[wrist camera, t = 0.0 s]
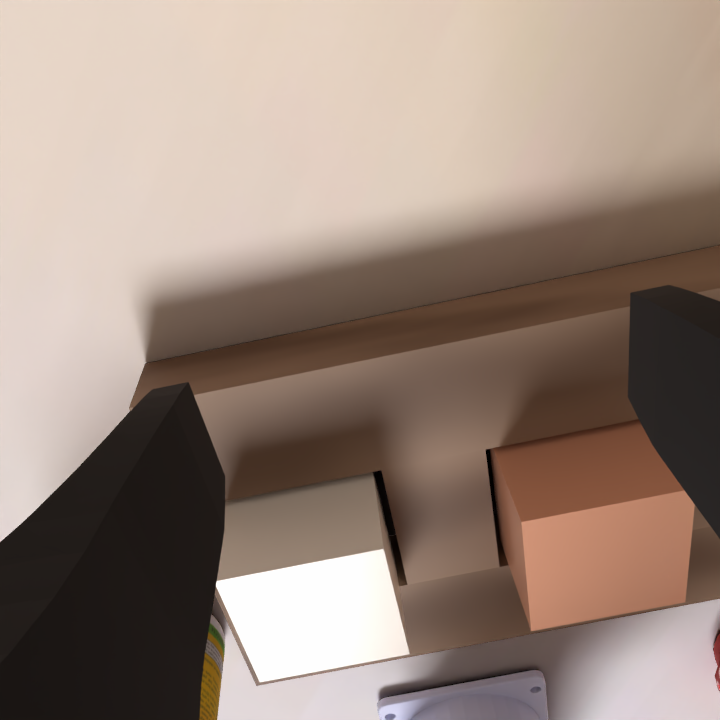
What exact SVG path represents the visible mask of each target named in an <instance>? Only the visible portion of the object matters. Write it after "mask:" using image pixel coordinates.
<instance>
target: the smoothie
mask: <svg viewBox="0 0 720 720" xmlns="http://www.w3.org/2000/svg"><path fill="white" fill-rule="evenodd" d="M713 651H714V655H715V660H716V662H717V665H718V667H717V671H716V674H715V679H716V683H717V687H718V689H719V691H720V634H719V635H718V636H717V638H716V642H715V645H714V648H713Z"/></svg>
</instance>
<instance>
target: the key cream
mask: <svg viewBox="0 0 720 720" xmlns="http://www.w3.org/2000/svg"><path fill="white" fill-rule="evenodd" d="M216 587H217V589H218V591H219V594H220V596H221V598H222V600H223V602H224V605H225V607H226V609H227V611H228V613H229V616H230V618H231V620H232V622H233V624H234V627H235V629H236V631H237V633H238V635H239V638H240V640H241V642H242V644H243V647H244V649H245V651H246V653H247V655H248V658H249V660H250V662H251V664H252V666H253V669H254V671H255V673H256V675H257V677H258V680H259V682H265V681H270V680H275V679H281V678H286V677H291V676H297V675H302V674H307V673H313V672H318V671H323V670H329V669H334V668H339V667H345V666H350V665H355V664H360V663H366V662H371V661H376V660H382V659H387V658H392V657H398V656H403V655H408V654H410V653H409V647H408V640H407V634H406V628H405V621H404V615H403V608H402V602H401V596H400V589H399V583H398V576H397V570H396V563H395V558H394V554H393V549H392V545H391V541H390V537H389V533H388V528H387V524H386V520H385V516H384V512H383V507H382V503H381V499H380V495H379V490H378V486H377V482H376V478H375V474H374V472H370V473H365V474H360V475H355V476H350V477H344V478H339V479H334V480H329V481H324V482H319V483H314V484H309V485H304V486H299V487H294V488H289V489H284V490H279V491H274V492H269V493H264V494H259V495H254V496H248V497H243V498H238V499H233V500H228V501H225V529H224V536H223V544H222V550H221V557H220V563H219V570H218V576H217V582H216Z"/></svg>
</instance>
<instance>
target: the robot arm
mask: <svg viewBox="0 0 720 720" xmlns="http://www.w3.org/2000/svg"><path fill="white" fill-rule="evenodd" d="M628 399H629V401H630V403H631V405H632V407H633V409H634V411H635V413H636V415H637V417H638V419H639V421H640V423H641V425H642V427H643V428H644V430H645V432H646V434H647V436H648V438H649V439H650V441H651V443H652V445H653V447H654V448H655V450H656V451H657V453H658V454H659V455H660V457H661V458H662V460H663V461H664V463H665V464H666V465H667V467H668V468H669V470H670V471H671V472H672V474H673V475H674V477H675V478H676V479H677V481H678V482H679V484H680V485H681V486H682V488H683V489H684V490H685V492H686V493H687V495H688V496H689V497H690V499H691V500H692V501H693V503H694V504H695V506H696V507H697V508H698V510H699V511H700V512H701V514H702V515H703V517H704V518H705V519H706V521H707V522H708V523H709V525H710V526H711V528H712V529H713V530H714V532H715V533H716V534H717V536H718V537H719V539H720V301H718V300H715V299H712V298H709V297H707V296H704V295H701V294H698V293H695V292H692V291H689V290H686V289H683V288H679V287H675V286H672V285H666V286H661V287H656V288H651V289H646V290H641V291H636V292H631V293H630V328H629V366H628ZM224 529H225V474H224V472H223V469H222V466H221V464H220V461H219V459H218V456H217V454H216V451H215V448H214V446H213V443H212V441H211V438H210V436H209V433H208V430H207V428H206V425H205V423H204V420H203V418H202V415H201V412H200V410H199V407H198V405H197V402H196V400H195V397H194V394H193V392H192V389H191V387H190V384H189V382H185V383H181V384H176V385H171V386H166V387H161V388H156V389H152V390H151V391H150V392H149V393H148V394H147V395H145V396H144V397H143V398H142V399H141V400H140V401H139V403H138V404H137V405H136V406H135V407H134V408H133V409H132V410H131V411H130V412H129V413H128V414H127V415H126V417H125V418H124V419H123V420H122V421H121V422H120V423H119V424H118V425H117V426H116V428H115V429H114V430H113V431H112V432H111V433H110V434H109V435H108V436H107V437H106V438H105V440H104V441H103V442H102V443H101V444H100V445H99V446H98V447H97V448H96V449H95V450H94V451H93V453H92V454H91V455H90V456H89V457H88V458H87V459H86V460H85V461H84V462H83V463H82V464H81V466H80V467H79V468H78V469H77V470H76V471H75V472H74V473H73V474H72V475H71V476H70V477H69V478H68V479H67V480H66V481H65V482H64V483H63V484H62V485H61V486H60V487H59V488H58V489H57V490H56V491H55V492H54V493H53V494H52V495H51V496H50V497H48V498H47V499H46V500H45V501H44V502H43V503H42V504H41V505H40V506H39V507H38V508H37V509H36V510H35V511H34V512H33V513H32V514H31V515H30V516H29V517H28V518H27V519H26V520H25V521H24V522H23V523H22V524H20V525H19V526H18V527H17V528H16V529H15V530H14V531H13V532H11V533H10V534H9V535H8V536H7V537H6V538H5V539H3V540H2V541H1V542H0V720H199V719H200V701H201V683H202V674H203V666H204V657H205V650H206V644H207V638H208V632H209V625H210V619H211V613H212V607H213V601H214V595H215V588H216V582H217V576H218V570H219V563H220V557H221V550H222V544H223V536H224ZM377 707H378V713H379V717H380V720H548V709H547V696H546V683H545V678H544V675H543V673H542V672H541V671H538V670H531V671H525V672H520V673H515V674H509V675H504V676H498V677H493V678H488V679H482V680H477V681H472V682H466V683H461V684H455V685H450V686H445V687H439V688H434V689H429V690H423V691H418V692H413V693H407V694H402V695H396V696H391V697H386V698H383V699H381V700H380V701H379V702H378V703H377Z"/></svg>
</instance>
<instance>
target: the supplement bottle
mask: <svg viewBox="0 0 720 720" xmlns="http://www.w3.org/2000/svg"><path fill="white" fill-rule="evenodd" d="M224 649H225V637H224V633H223V630H222V628H221V626H220V624H219V622H218V621H217V620H216V618H215V617H214V616H213V615H212V614H211V619H210V625H209V632H208V638H207V644H206V650H205V657H204V666H203V674H202V683H201V701H200V719H199V720H217V715H218V706H219V696H220V688H221V679H222V671H223V661H224Z"/></svg>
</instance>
